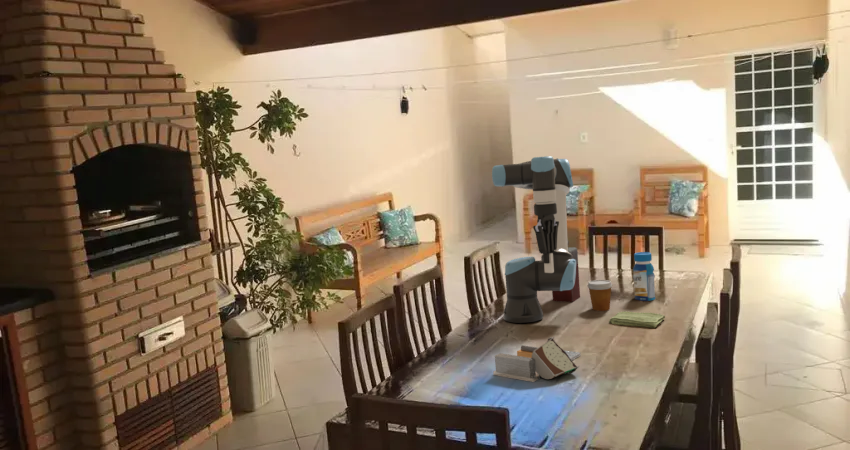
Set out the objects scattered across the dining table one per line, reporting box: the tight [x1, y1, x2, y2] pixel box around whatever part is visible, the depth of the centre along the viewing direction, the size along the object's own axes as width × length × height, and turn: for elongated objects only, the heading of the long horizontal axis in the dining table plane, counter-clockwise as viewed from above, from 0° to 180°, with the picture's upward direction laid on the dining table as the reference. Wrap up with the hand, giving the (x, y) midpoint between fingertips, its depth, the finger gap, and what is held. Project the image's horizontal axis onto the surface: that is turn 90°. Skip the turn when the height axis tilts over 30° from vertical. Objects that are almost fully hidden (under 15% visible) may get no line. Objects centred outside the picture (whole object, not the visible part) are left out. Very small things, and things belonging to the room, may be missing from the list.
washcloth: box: [608, 311, 666, 329], centre depth 254 cm, size 13×18×3 cm
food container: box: [532, 336, 580, 380], centre depth 204 cm, size 12×6×10 cm
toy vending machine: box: [551, 239, 581, 303], centre depth 292 cm, size 9×11×28 cm
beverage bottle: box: [632, 251, 656, 302], centre depth 285 cm, size 8×8×20 cm
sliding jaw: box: [516, 345, 539, 358], centre depth 215 cm, size 12×6×5 cm, turn 49°
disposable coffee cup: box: [587, 279, 613, 312], centre depth 273 cm, size 10×10×12 cm
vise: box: [492, 349, 582, 383], centre depth 214 cm, size 14×28×6 cm, turn 139°
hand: (549, 272), depth 234 cm, fingers closed
